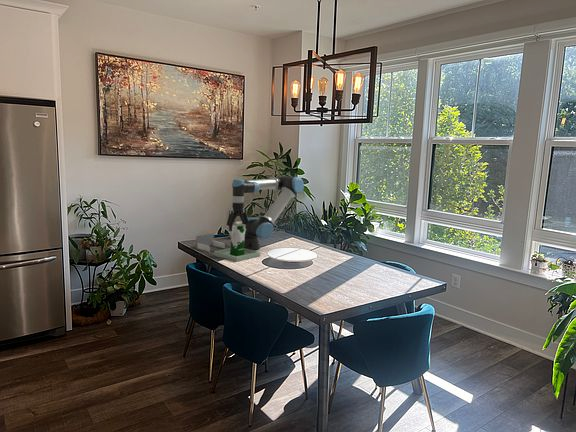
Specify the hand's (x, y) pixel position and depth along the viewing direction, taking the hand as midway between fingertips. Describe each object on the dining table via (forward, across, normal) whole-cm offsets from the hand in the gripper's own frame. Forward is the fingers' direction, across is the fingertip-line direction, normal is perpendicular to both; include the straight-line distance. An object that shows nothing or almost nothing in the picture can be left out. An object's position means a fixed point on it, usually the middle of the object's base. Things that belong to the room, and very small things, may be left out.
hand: (237, 234), depth 284 cm
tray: (+15, 0, 0) cm, 15 cm away
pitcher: (+15, -42, -40) cm, 60 cm away
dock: (+15, -2, -29) cm, 33 cm away
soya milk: (+14, 0, 0) cm, 14 cm away
